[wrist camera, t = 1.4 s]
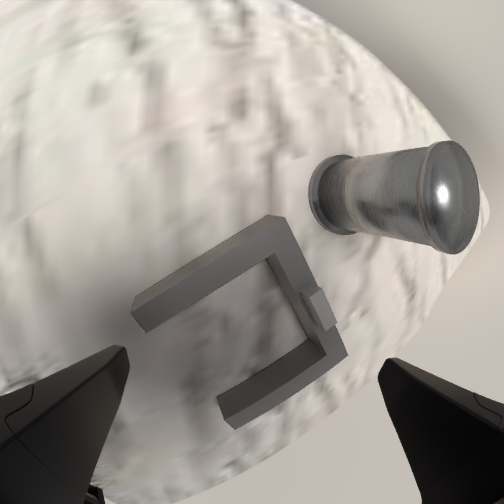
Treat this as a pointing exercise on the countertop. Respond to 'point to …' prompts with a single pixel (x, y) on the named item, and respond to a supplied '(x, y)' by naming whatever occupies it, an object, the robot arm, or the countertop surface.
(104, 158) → the countertop surface
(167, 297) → the u-shaped bracket
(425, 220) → the dark grey flanged cylinder
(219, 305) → the countertop surface
